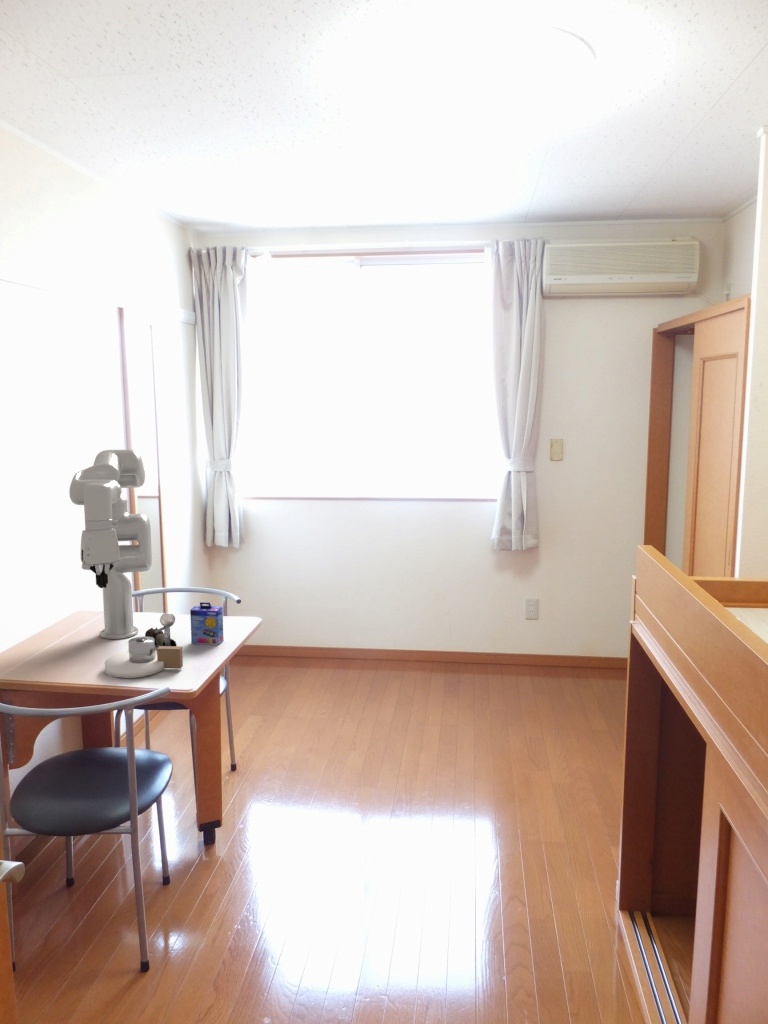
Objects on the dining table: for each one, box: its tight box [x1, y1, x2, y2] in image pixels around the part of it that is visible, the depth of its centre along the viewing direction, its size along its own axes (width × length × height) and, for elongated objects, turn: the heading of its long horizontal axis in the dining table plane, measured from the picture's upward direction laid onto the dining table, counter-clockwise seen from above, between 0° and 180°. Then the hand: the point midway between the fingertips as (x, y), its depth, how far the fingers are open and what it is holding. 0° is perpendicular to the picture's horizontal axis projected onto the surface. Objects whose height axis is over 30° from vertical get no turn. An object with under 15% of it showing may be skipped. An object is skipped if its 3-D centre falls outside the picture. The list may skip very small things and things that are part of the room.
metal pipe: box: [144, 627, 178, 647], centre depth 248 cm, size 18×7×6 cm, turn 33°
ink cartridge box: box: [189, 601, 225, 645], centre depth 251 cm, size 10×6×14 cm, turn 85°
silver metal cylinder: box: [127, 635, 156, 664], centre depth 226 cm, size 8×8×6 cm
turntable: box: [104, 645, 184, 679], centre depth 226 cm, size 23×18×6 cm
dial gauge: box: [154, 612, 176, 646], centre depth 238 cm, size 5×8×14 cm
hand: (102, 586), depth 217 cm, fingers closed
